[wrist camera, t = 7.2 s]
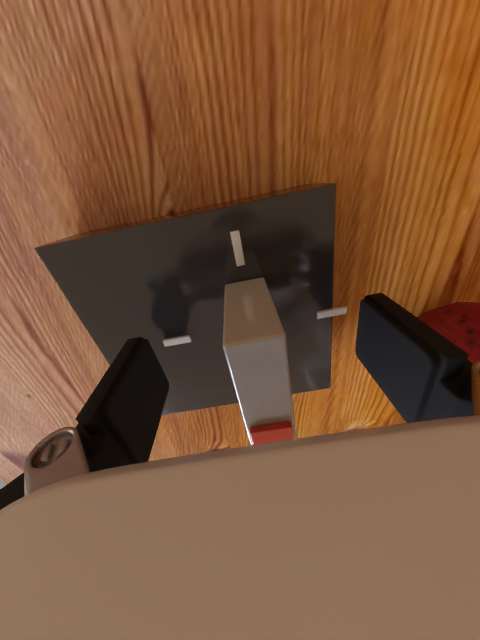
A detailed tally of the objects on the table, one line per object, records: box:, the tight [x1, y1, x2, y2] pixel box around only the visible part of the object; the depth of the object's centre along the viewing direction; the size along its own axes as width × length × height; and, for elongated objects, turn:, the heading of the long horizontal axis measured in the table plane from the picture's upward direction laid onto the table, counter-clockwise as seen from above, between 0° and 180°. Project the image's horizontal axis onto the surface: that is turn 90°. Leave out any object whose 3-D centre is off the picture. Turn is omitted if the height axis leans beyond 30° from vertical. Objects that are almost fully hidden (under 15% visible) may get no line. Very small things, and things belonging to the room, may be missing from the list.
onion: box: [418, 302, 480, 364], centre depth 12 cm, size 6×6×8 cm
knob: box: [223, 278, 296, 445], centre depth 9 cm, size 5×2×5 cm, turn 10°
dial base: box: [35, 183, 347, 415], centre depth 13 cm, size 13×11×3 cm
